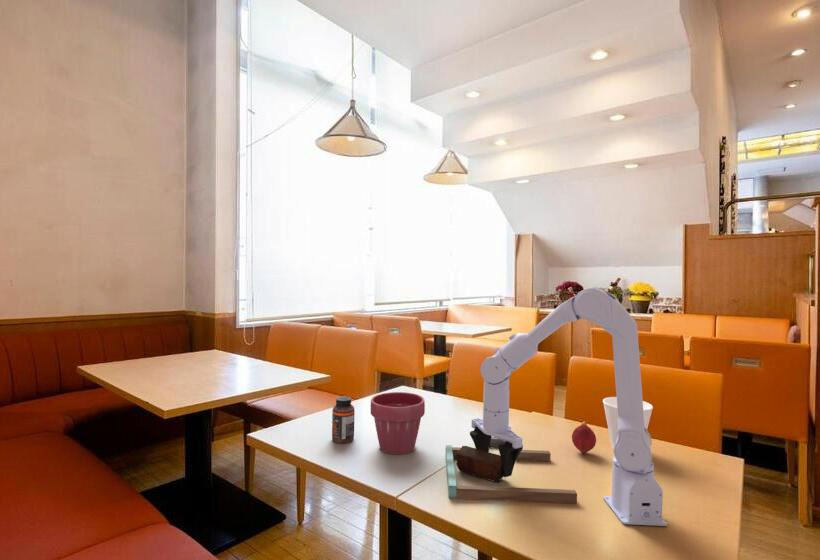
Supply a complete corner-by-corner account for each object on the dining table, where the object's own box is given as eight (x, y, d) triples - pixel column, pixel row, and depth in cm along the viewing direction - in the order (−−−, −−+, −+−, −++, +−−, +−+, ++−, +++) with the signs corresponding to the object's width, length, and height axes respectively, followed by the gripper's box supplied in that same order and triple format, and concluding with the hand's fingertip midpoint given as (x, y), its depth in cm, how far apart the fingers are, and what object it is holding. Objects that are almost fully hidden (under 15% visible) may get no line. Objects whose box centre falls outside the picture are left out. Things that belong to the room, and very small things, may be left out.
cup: (624, 461, 107) (625, 411, 107) (591, 443, 118) (592, 398, 118) (663, 457, 110) (664, 408, 110) (627, 439, 121) (629, 395, 121)
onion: (598, 458, 108) (598, 427, 108) (573, 456, 109) (574, 424, 109) (593, 449, 114) (593, 419, 114) (569, 447, 115) (570, 417, 115)
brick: (456, 471, 100) (455, 453, 99) (464, 462, 103) (463, 444, 102) (500, 484, 94) (499, 465, 93) (507, 474, 97) (506, 455, 96)
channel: (576, 503, 87) (577, 491, 87) (448, 498, 88) (448, 485, 88) (540, 446, 116) (540, 436, 116) (444, 442, 117) (444, 433, 117)
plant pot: (366, 439, 118) (366, 392, 118) (415, 435, 122) (416, 390, 122) (374, 461, 104) (375, 408, 104) (430, 456, 108) (431, 405, 108)
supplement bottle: (327, 438, 118) (328, 397, 118) (346, 433, 122) (347, 393, 122) (338, 445, 114) (339, 402, 114) (358, 440, 117) (358, 398, 117)
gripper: (533, 415, 94) (531, 477, 94) (487, 398, 106) (486, 453, 106) (508, 420, 90) (507, 485, 90) (465, 402, 102) (463, 459, 103)
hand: (494, 468), depth 98 cm, fingers open, 7 cm apart
